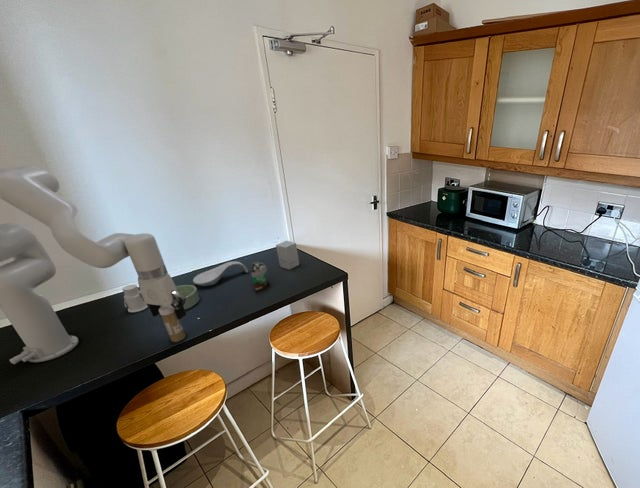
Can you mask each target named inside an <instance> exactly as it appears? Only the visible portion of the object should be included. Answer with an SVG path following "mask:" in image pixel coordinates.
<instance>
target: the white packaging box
mask: <svg viewBox="0 0 640 488" xmlns="http://www.w3.org/2000/svg"><path fill="white" fill-rule="evenodd" d="M275 247H276V253H277V258H278V263H279V267H280V268H282V269H286V270H293V269H294V268H295V267H298V266H300V259H299V254H298V247H297V243H296V242H293V241H289V240H285V241H282V242H280V243H277V244H275Z"/></svg>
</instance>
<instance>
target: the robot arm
mask: <svg viewBox="0 0 640 488" xmlns="http://www.w3.org/2000/svg"><path fill="white" fill-rule="evenodd" d="M60 187H61V186H60V181H59V180H58V178H57V177H56V175H54V174H53V173H51V172H50V171H49V170H46V169H44V168H42V167H39V166H33V165H16V164H15V165H14V164H1V163H0V199H1V200H3V201H4V202H6V203H7V204H9V205H11V206H13V207H14V208H16V209H18V210H20V211H21V212H22V213H24V214H26V215H28V216H29V217H31V218H33V219H35V220H36V221H38V222H40V223H41V224H43V225H45V226H46V227H48V228H49V229H50V232H51V235H52V236H53V237H54V238H53V239H54V240H55V241H56V242H57V244H58V245H59V247H60V248H61V249H62V250H63V251H64V252H66V253H67V254H68V255H70V256H72V257H74V258H76V259H77V260H79V261H81V262H82V263H84V264H86V265H89V266H91V267H94V268H98V269H107V268H111V267H113V266H115V265H117V264H118V263H119V262H121V261H122V260H124V259H126V258H130V261H131V262H132V265H133V268H134V270H135V272H136V275H137V276H138V277H137V284H138V289H139V291H141V293H139V296H140V297H141V298H143V301H144V302H145V303H147V304H146V305H147V306H148V307H147V308H149V311H150V313H151V315H152V317H153V318H154V317H155V318H156V317H157V316H159V315H160V313H159V308H160V307H161V306H169V305H171V306H172V307H173V308H175V310H174V312H175V314H176V317H177V319H179V320H180V321H181V319H182V318H184V317H185V316H186V315H187V312H186V309H185V310H184V307H183V306H184V304H185V303H186V302H185V301H186V297H185V296H183V295H181V294H179V293H178V291H177V288H176V284H175V281H174V280H173V279H172V276H171V275H170V274H169V272H168V270H167V269H168V268H167V267H166V264H165V262H164V261H165V260H164V259H163V256H162V253H161V250H160V247H159V245H158V243H157V240H156V237H155V236H154V235H153V234H151V233H146V232H145V233H144V232H141V233H136V234H134V233H124V232H115V233H112V234H110V235H108V236H105V237H104V238H102V239H100V240H98V241H94V240H92V239H90V238H88V236H86V235H85V234H83V233H82V232H81V231H79V229H78V228H77V227H76V225H75V222H74V220H75V218H76V217H77V215H78V210H79V209H78V207H77V206H76V205H75V204H74V203H72V202H71V201H69V200H68V199H66V198H64V197H62V196H61V195H59V194H58V191H59V190H60ZM9 259H12V261H10V262H6V263H4V264H3V265H1V266H0V310H1V311H2V313H3V314H4V316H5V317H6V318H7V320H8V321H9V323H10V324H11V325H12V327H13V328H14V330H15V331H16V333H17V335H18V336H19V338H20V339H21V340H22V343H24V345H25V346H23V347H22V350H23V351H21V352H20V354H17V355H16V356H14V357H12V358H10V359H9V362H10V363H11V364H13V365H16V364H18V363H19V362H21V361H23V363H25V362H29V363H42V362H46V361H51V360H54V359H56V358H59V357H61V356H63V355H65V354H67V353H69V352H71V351H72V350H73V349H75V348H76V347H77V345H78V344H79V343H80V341H79V338H78V336H76V335H69V334H68V332H67V330H66V328H65V327H64V325H63V323H62V321H61V320H60V318H59V317H58V315H57V313H56V311H55V309H54V308H53V306H52V304H51V302H50V301H49V299H48V298H46V297H45V296H44V295H42V294H40V293H38V292H36V291H35V290H34V289H36V288H37V287H39V286H41V285H43V284H45V283H46V282H48V281H49V280H51V279H53V278H54V276H56V273H57V266H56V264H55V262H54V261H53V259H52V257H51V256H50V254H49V253H48V251H47V250H46V248H45V247H44V246H43V244H42V242H41V241H40V239H39V238H38V236H37V235H36V234H35V232H33V231H32V230H30V229H29V228H28V227H26V226H23V225H21V224H18V223H13V222H8V223H7V222H6V223H1V224H0V263H3V262H5V261H8V260H9ZM174 302H177V303H178V305H176V304H175V303H174Z"/></svg>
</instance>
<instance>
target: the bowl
mask: <svg viewBox="0 0 640 488" xmlns="http://www.w3.org/2000/svg"><path fill="white" fill-rule="evenodd" d="M175 286H176V285H175ZM176 288H177V291H178V293H179V294H181V295H183V296H185V297H186V301H185V302H186V303H185V304H184V306H183V307H184V310H185V311H186V310H188V309H190V308H192V307H193V306H195V305H196V304H198V303H199V301H200V298H201V297H200V294H199V291H198V288H197V287H196V286H195V285H193V284H192V285H191V284H182V285H177V286H176ZM174 303H175V304H176V305H178V303H177V302H174ZM160 307H162V306H160Z"/></svg>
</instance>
